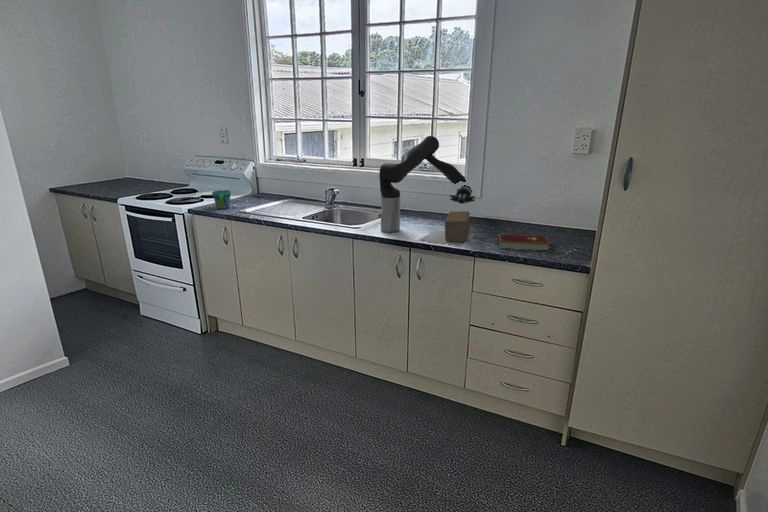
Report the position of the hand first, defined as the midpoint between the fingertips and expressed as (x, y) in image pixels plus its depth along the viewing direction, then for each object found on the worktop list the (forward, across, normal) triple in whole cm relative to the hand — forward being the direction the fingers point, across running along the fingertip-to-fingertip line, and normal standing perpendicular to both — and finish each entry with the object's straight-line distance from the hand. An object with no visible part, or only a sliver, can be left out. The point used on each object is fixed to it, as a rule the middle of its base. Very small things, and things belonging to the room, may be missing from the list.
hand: (460, 201), depth 221 cm
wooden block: (+2, 0, +9) cm, 10 cm away
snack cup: (-18, -144, +15) cm, 146 cm away
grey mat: (+13, -4, +15) cm, 21 cm away
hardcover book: (+18, +30, +16) cm, 38 cm away
